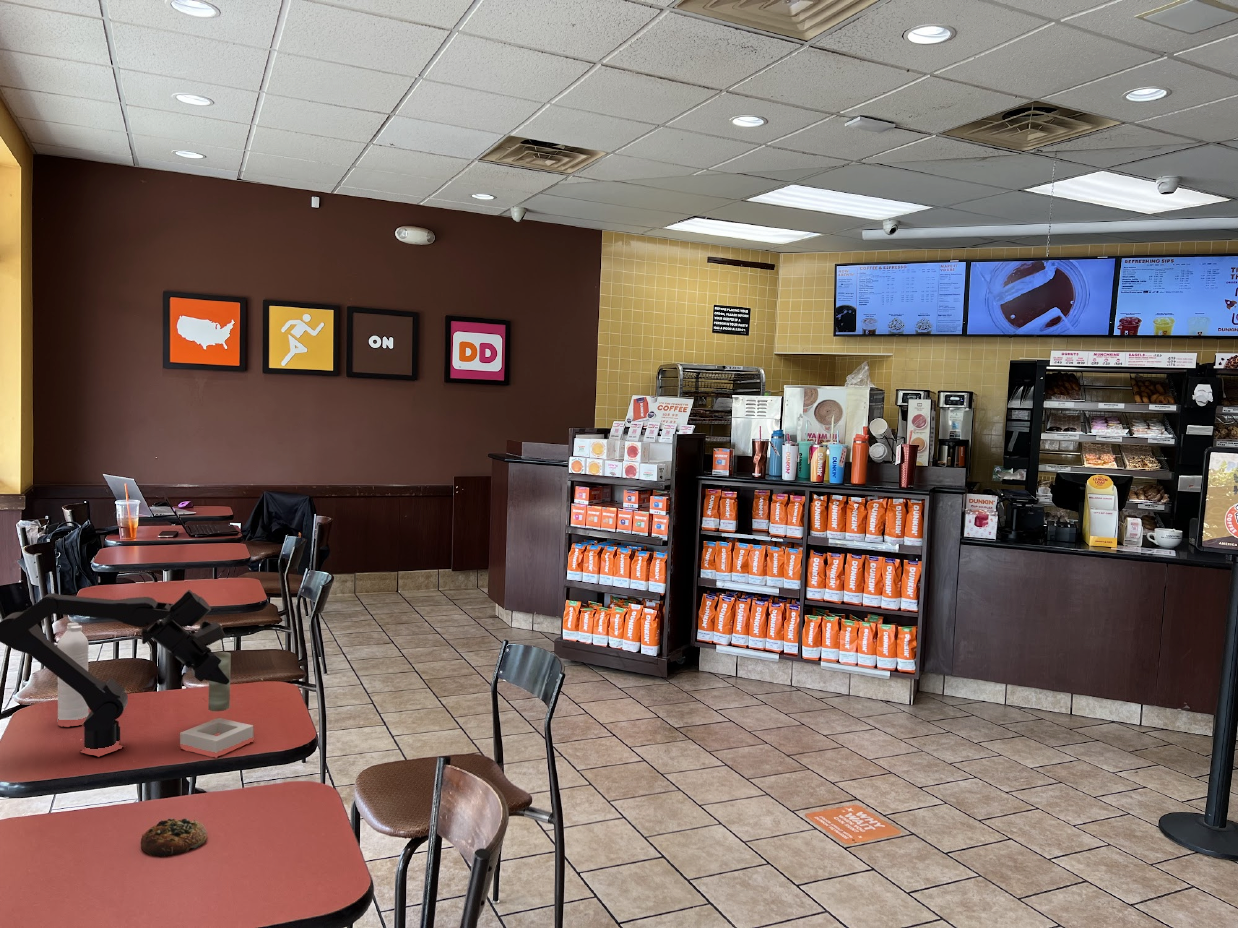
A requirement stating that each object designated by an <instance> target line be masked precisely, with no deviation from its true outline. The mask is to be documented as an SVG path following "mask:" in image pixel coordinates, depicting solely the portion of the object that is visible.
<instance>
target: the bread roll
mask: <svg viewBox="0 0 1238 928" xmlns="http://www.w3.org/2000/svg"><path fill="white" fill-rule="evenodd" d="M207 834H208V832H207V829H206V826H205V825H204V824H203V823H202V822H199V821H198V820H196V819H193V820H190V819H188V818H182V819H175V818H168V819H165V820H160V821H158V823H156V825H153V826H151V827H150V828H149V829H148V830H146V831H145V832H144V833H143V834H142V835H141V838H140V847H141V849H142V850H143V852H145V853H146V854H147V855H150V856H153V857H156V858H157V857H158V858H159V857H160V858H165V857H170V856H176V855H180V854H184V853H187V852H189V851H190V849H197V848H199V847H200V846H202V845H204V844H205V842H206V840H207V839H208V838H207V837H208V835H207Z"/></svg>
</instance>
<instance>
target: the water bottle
mask: <svg viewBox="0 0 1238 928" xmlns="http://www.w3.org/2000/svg"><path fill="white" fill-rule="evenodd" d="M82 631H83V625H80V624H79V622H69V623H67V626H66V631H65V632H64V633H63V634H62V635H61V637H60V639H59V640H58V642H57V645H56V647H58V648H59V649H60V650H61V651H63V652H64V653H65V654H67V655H68V656H69V657H70V658H72V659H73V660H74V661H75V662H77V663H78V664H79V665H80V666H82V667H83V668H84V669H85V670H87V671H88V672H89V640H88V638H87V636H86V635H85V634H84V633H83V632H82ZM57 707H58V708H57V720H58V719H59V720H78V719H83V718H85V717H87V716H88V715H89V713H90V712H89V710H90V709H89V707H88V706H87V704H86V702H85V700H84V699H83V697H82V696H81V695H80V694H79V693H78V692H77V691H75V690H74V689H73V688H71V687H70V686H69V685H68V684H66V683H65V682H64V681H63V680H61V679H60V678H59V677H57Z"/></svg>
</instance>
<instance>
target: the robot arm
mask: <svg viewBox="0 0 1238 928" xmlns="http://www.w3.org/2000/svg"><path fill="white" fill-rule="evenodd" d="M210 611H212V607H211V606H210V604H209V603H208V601H206V600H205V599H204V598H203V597H202V596H199V595H198V594H197V593H195V592H193V591H191V590H190V589H188V590H186V591H185V592H184V593H183V594H182V596H181V597H180V598H178V600H176V601H175V602H174V603H171V602H169V603H168V602H161V601H156V599H155V598H153V597H149V596H139V597H128V598H121V599H109V598H99V597H86V596H79V595H65V594H58V593H55V592H52V593H48V594H46V595H45V596H43V597H42V598H41V599H40V600H39V601H38V602H36V603H33V605H31V606H29V607H28V608H26V609H25V610H23V611H16V612H12V613H10V614H9V615H7V616H6V617H5V618H4V619H2V620H1V621H0V643H1V644H3V645H5V646H7V647H9V648H10V649H13V650H15V651H17V652H20V653H25V654H27V655H29V656H31V657H32V658H34V659H35V661H37V662H38V663H39V664H41V665H42V666H44V667H45V669H47V670H48V671H50V672H51V673H52V674H54V675H55V676H56V677H57V678H58V677H59V678H60V679H61V680H63V681H64V682H65V683H66V684H68V685H69V686H70V687H71V688H73V689H74V690H75V691H77V692H78V693H79V694H80V695H81V696H82V697H83V699H84V700H85V702H86V704H87V706H88V707H89V710H90V712H89V715H88V716H87V718H86V720H85V721H84V723H83V725H82V726H83V727H84V728H83V729H84V730H83V732H84V733H83V735H84V737H83V738H84V741H83V745H84V747H86V748H90V749H98V748H105V747H109V746H112V745H114V744H115V743H116V741H119V740H120V741H121V726H120V722H119V720H117V719H119V718H120V717H121V716H122V714H123V713H124V712H125V709H126V707H127V705H128V704H129V703H128V702H129V696H128V693H127V692H126V691H125V689H126V687H125V686H121V685H120V684H118V683H117V681H116V680H115V679H114V678H112V677H110V678H109V679H108V681H104V680H101V679H99V678H96V676H94V675H93V674H92V673H90V672H89V670H88V671H87V670H85V669H84V668H83V667H82V666H80V665H79V664H78V663H77V662H75V661H74V660H73V659H72V658H70V657H69V656H68V655H67V654H65V653H64V652H63V651H61V650H60V649H59V648H58V647H57V645H55V644H54V643H53V642H52V641H50V640H49V639H48V638H47V637H46V635H45V633H44V632H43V629H42V628H41V627H40V625H39V623H40V622H42V621H43V620H44V619H46V618H47V617H49V616H50V615H64V616H76V617H87V618H96V619H97V618H98V619H99V618H100V619H109V620H114V621H117V622H119V623H122V624H124V625H128V626H133V627H136V628H142V629H141V630H140V633H141V644H143V645H145V644H147V643H148V642H149V641H150V640H151V639H153V640H154V641H155V642H156V643H157V644H159V645H160V646H161V647H162V648H164V649H165V650H166V651H167V652H168V653H170V655H171V656H173V657H174V658H176V659H177V660H178V661H179V662H181V663H182V664H183V665H184V666H185V667H186V668H188V669H189V668H190V670H191V675H192V676H193V678H194V679H196V680H198V681H199V682H201V683H202V682H203V681H208V682H209V681H213V682H217V683H221V684H225V685H227V684H228V683H229V682H230V683H231V680H230V681H229V679H228V678H227V677H226V675H225V674H224V673H223V672H222V670H221V669H220V668H219V664H220V663H221V661H222V660H221V659H220V658H219V657H218V656H216V655H215V654H214V653H215V652H213V651H212V649H211V648H210V647H208V646H211V645H212V644H214V643H216V642H218V641H221V640H223V639H225V638H226V634H225V632H224V630H223V628H222V626H221V624H219V622H217V621H213V622H212V623H211V622H209V621H208V620H207V619H205V620H204V621H202V622H200V623H199V629H197V631H196V632H194V633H192V632H191V631H190V630H186V629H185V628H187V627H190V628H191V627H193V626H194V625H196V623H198V622H199V621H200V620H201V619H203V618H204V617H205V616H206V615H207V614H208V613H209V612H210ZM153 622H154V623H153ZM152 623H153V624H152ZM151 624H152V625H151ZM146 627H148V628H146ZM84 747H83V748H84Z"/></svg>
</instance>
